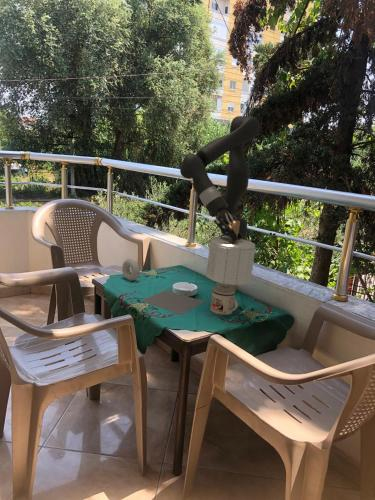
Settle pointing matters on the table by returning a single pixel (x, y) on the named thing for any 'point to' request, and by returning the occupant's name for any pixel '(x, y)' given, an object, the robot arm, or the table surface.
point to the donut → (126, 269)
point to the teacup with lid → (223, 299)
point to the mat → (172, 302)
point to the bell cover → (230, 259)
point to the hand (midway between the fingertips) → (238, 239)
